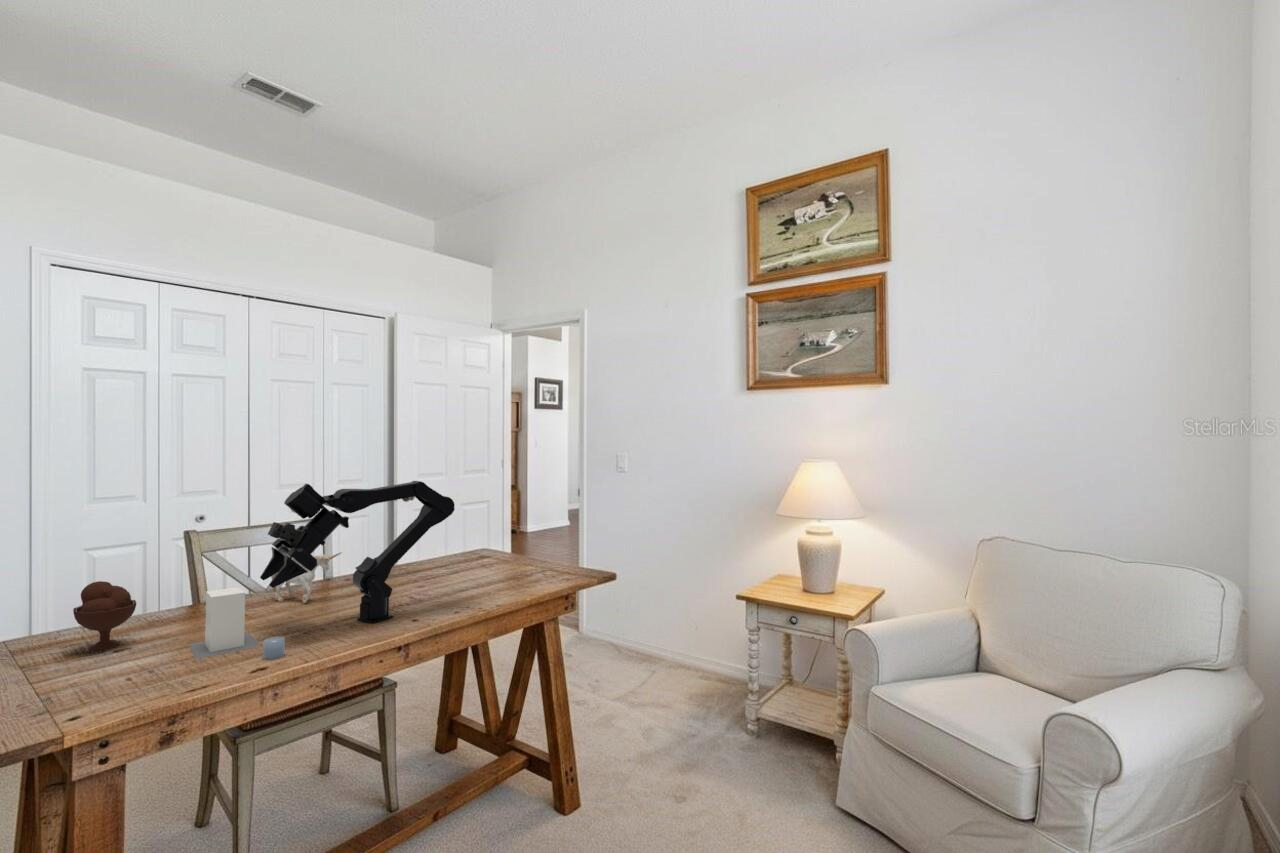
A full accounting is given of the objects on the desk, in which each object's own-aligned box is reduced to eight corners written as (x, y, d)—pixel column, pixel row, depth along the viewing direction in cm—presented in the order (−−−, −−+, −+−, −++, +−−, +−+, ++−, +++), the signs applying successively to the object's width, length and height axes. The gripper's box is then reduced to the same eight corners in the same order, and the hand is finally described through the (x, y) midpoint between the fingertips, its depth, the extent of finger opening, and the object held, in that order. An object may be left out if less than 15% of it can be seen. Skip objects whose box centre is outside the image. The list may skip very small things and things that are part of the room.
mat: (249, 634, 149) (249, 633, 149) (261, 648, 141) (261, 646, 141) (188, 645, 141) (188, 644, 141) (196, 660, 132) (196, 658, 132)
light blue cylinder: (276, 653, 137) (277, 635, 137) (288, 656, 136) (288, 638, 136) (258, 659, 134) (259, 640, 134) (270, 662, 132) (271, 643, 132)
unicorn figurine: (332, 604, 177) (333, 556, 177) (259, 605, 174) (260, 557, 174) (341, 597, 184) (342, 551, 184) (271, 598, 181) (272, 552, 182)
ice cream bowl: (99, 658, 133) (101, 588, 133) (58, 654, 135) (59, 584, 135) (148, 642, 143) (149, 577, 143) (108, 638, 145) (110, 574, 145)
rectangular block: (238, 638, 145) (239, 587, 145) (244, 645, 141) (245, 592, 141) (205, 644, 141) (206, 591, 141) (209, 652, 136) (211, 597, 136)
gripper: (281, 505, 157) (229, 555, 150) (302, 513, 143) (246, 569, 136) (315, 533, 162) (267, 583, 155) (338, 543, 149) (286, 598, 141)
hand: (266, 582), depth 147 cm, fingers open, 9 cm apart
